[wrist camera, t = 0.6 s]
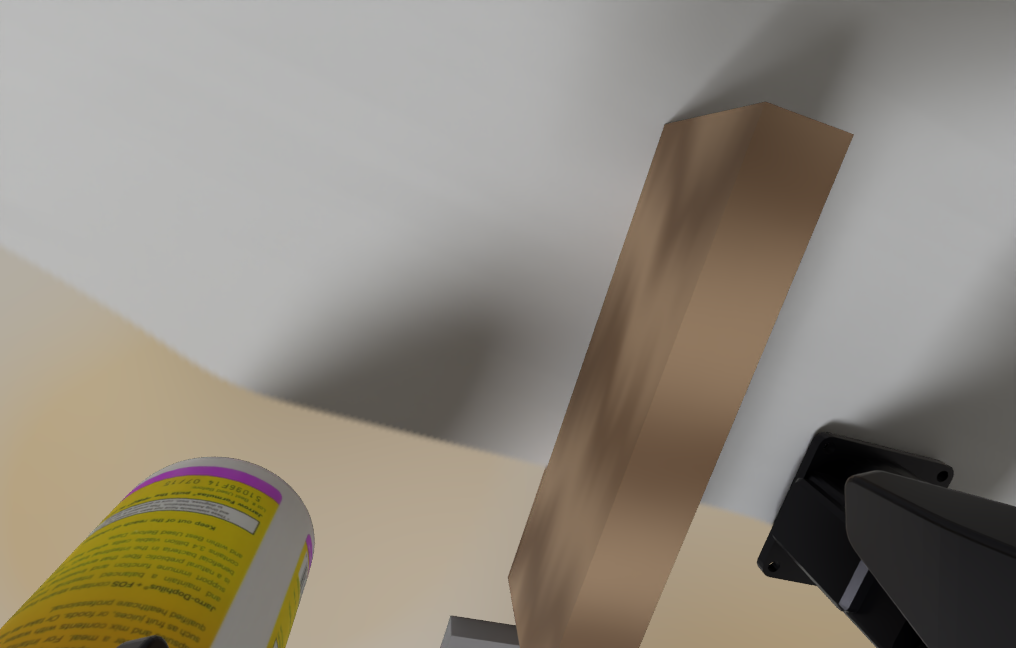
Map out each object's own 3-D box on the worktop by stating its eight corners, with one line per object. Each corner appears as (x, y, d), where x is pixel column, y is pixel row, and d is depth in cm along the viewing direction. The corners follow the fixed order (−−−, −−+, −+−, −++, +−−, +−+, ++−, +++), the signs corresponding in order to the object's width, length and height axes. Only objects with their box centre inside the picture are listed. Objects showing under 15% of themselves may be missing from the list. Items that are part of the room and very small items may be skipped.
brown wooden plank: (662, 124, 18) (766, 101, 12) (726, 147, 19) (853, 134, 13) (507, 576, 22) (531, 717, 16) (563, 586, 23) (605, 726, 17)
